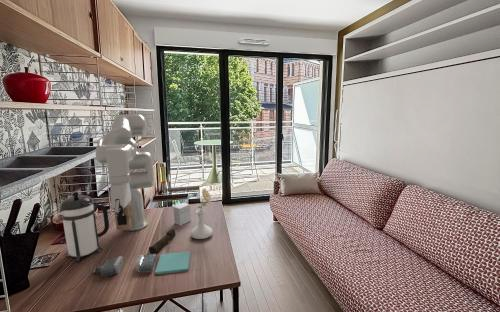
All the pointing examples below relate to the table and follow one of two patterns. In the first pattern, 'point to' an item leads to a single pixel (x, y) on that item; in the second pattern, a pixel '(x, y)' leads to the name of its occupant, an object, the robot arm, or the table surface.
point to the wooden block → (128, 217)
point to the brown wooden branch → (162, 241)
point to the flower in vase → (202, 229)
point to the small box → (182, 213)
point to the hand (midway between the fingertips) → (124, 221)
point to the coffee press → (81, 225)
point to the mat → (173, 262)
